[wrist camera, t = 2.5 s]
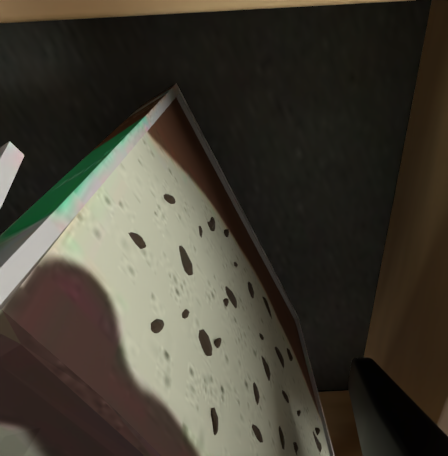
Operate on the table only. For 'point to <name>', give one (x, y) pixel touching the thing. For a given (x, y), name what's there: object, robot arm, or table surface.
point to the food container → (148, 310)
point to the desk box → (399, 221)
